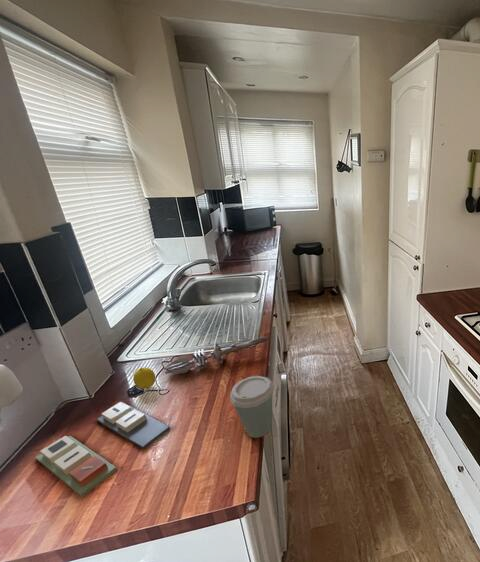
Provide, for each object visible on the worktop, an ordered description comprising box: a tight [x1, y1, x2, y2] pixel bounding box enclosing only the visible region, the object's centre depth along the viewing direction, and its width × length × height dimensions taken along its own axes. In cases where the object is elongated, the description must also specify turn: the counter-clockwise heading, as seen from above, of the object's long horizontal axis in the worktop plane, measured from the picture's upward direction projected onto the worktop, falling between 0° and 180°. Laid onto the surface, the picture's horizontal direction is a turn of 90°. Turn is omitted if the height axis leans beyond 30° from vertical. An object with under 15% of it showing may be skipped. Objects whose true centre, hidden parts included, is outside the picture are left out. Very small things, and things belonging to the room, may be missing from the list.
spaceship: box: [163, 336, 270, 375], centre depth 110 cm, size 8×35×8 cm
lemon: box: [132, 366, 156, 390], centre depth 99 cm, size 6×6×8 cm
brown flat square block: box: [69, 455, 108, 487], centre depth 72 cm, size 5×5×2 cm
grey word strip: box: [96, 401, 171, 450], centre depth 86 cm, size 22×7×3 cm, turn 65°
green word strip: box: [34, 435, 118, 498], centre depth 75 cm, size 22×7×3 cm, turn 65°
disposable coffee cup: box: [229, 375, 275, 439], centre depth 81 cm, size 11×11×15 cm
